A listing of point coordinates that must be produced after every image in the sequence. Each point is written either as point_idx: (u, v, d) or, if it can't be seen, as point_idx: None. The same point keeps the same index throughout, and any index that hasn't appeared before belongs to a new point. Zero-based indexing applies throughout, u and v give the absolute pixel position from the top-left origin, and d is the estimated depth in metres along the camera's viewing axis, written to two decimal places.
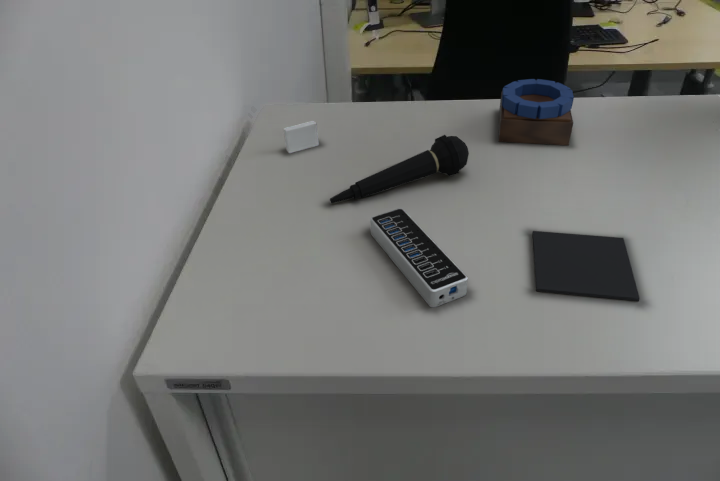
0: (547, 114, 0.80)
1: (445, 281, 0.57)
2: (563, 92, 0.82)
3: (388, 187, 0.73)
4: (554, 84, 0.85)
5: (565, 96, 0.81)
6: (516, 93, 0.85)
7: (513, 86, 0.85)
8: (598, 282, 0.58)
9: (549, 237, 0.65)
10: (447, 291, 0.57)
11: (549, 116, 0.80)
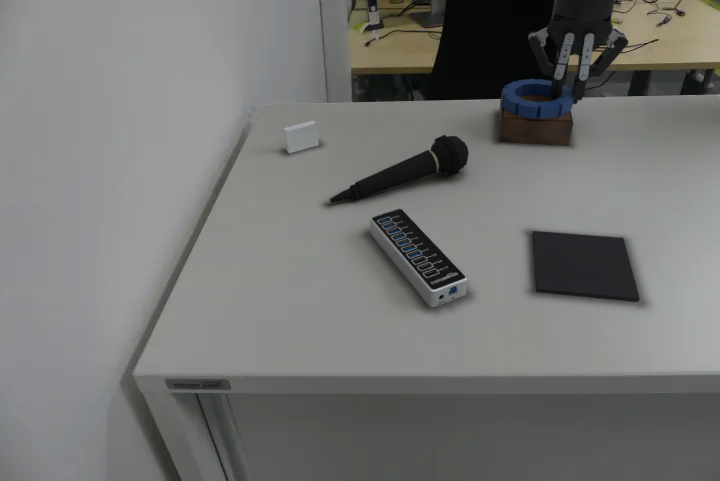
0: (547, 114, 0.80)
1: (445, 281, 0.57)
2: (563, 92, 0.82)
3: (388, 187, 0.73)
4: None
5: (565, 96, 0.81)
6: (516, 93, 0.85)
7: (513, 86, 0.85)
8: (598, 282, 0.58)
9: (549, 237, 0.65)
10: (447, 291, 0.57)
11: (549, 116, 0.80)
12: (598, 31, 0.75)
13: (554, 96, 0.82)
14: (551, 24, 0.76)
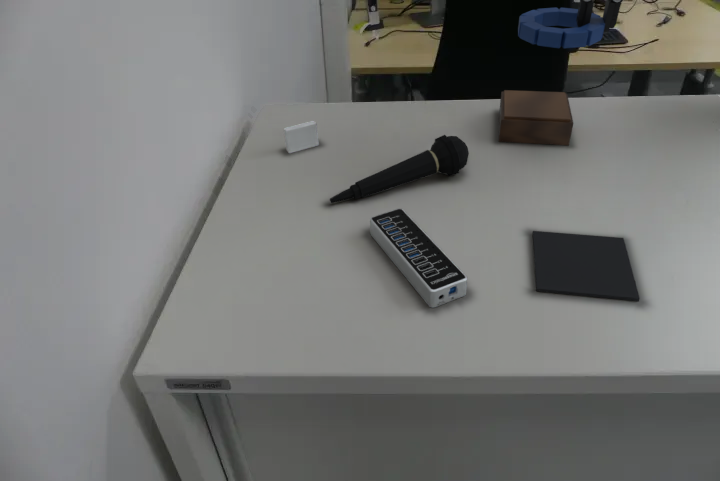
0: (573, 42, 0.66)
1: (445, 281, 0.57)
2: (592, 19, 0.69)
3: (388, 187, 0.73)
4: None
5: (594, 22, 0.68)
6: (535, 23, 0.72)
7: (532, 14, 0.72)
8: (598, 282, 0.58)
9: (549, 237, 0.65)
10: (447, 291, 0.57)
11: (576, 45, 0.67)
12: None
13: (581, 23, 0.69)
14: None
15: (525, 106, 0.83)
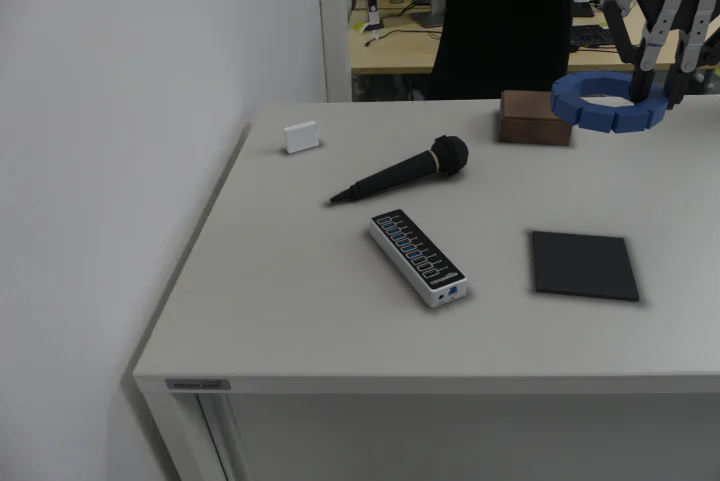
0: (629, 126, 0.50)
1: (445, 281, 0.57)
2: (650, 91, 0.52)
3: (388, 187, 0.73)
4: None
5: (654, 97, 0.51)
6: (573, 93, 0.55)
7: (568, 81, 0.55)
8: (598, 282, 0.58)
9: (549, 237, 0.65)
10: (447, 291, 0.57)
11: (631, 129, 0.50)
12: None
13: (636, 97, 0.52)
14: None
15: (525, 106, 0.83)
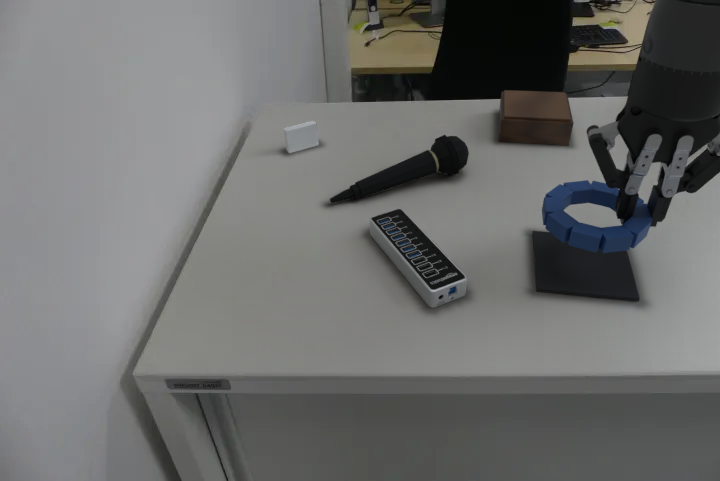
0: (614, 247, 0.53)
1: (444, 281, 0.57)
2: None
3: (388, 187, 0.73)
4: None
5: (638, 216, 0.55)
6: (563, 204, 0.59)
7: (559, 194, 0.59)
8: (598, 282, 0.58)
9: (549, 237, 0.65)
10: (446, 291, 0.57)
11: (617, 249, 0.54)
12: (699, 132, 0.49)
13: (622, 215, 0.56)
14: (626, 119, 0.50)
15: (525, 106, 0.83)
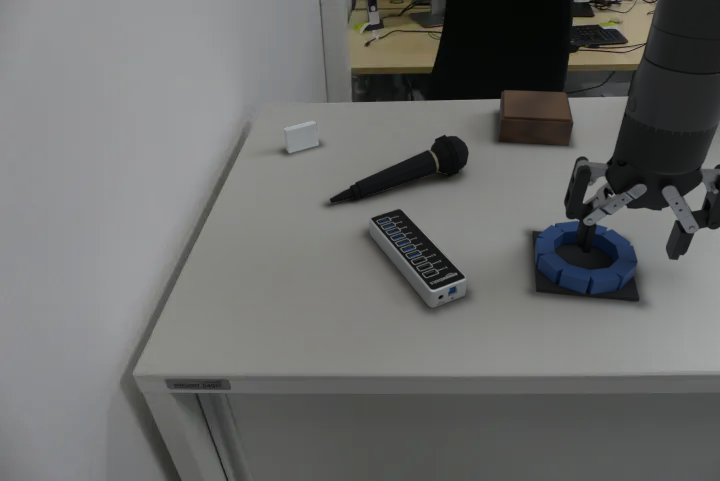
0: (602, 289, 0.57)
1: (444, 281, 0.57)
2: (621, 250, 0.59)
3: (388, 187, 0.73)
4: (607, 233, 0.62)
5: (625, 258, 0.58)
6: (554, 245, 0.62)
7: (551, 235, 0.62)
8: None
9: None
10: (446, 291, 0.57)
11: (604, 291, 0.57)
12: (682, 182, 0.52)
13: (582, 244, 0.59)
14: None
15: (525, 106, 0.83)
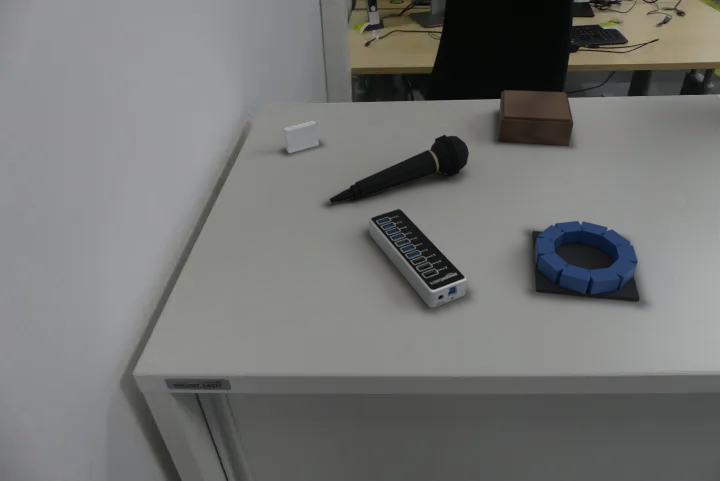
0: (602, 289, 0.57)
1: (444, 281, 0.57)
2: (621, 250, 0.59)
3: (388, 187, 0.73)
4: (607, 233, 0.62)
5: (625, 258, 0.58)
6: (554, 245, 0.62)
7: (551, 235, 0.62)
8: None
9: None
10: (446, 291, 0.57)
11: (604, 291, 0.57)
12: None
13: None
14: None
15: (525, 106, 0.83)
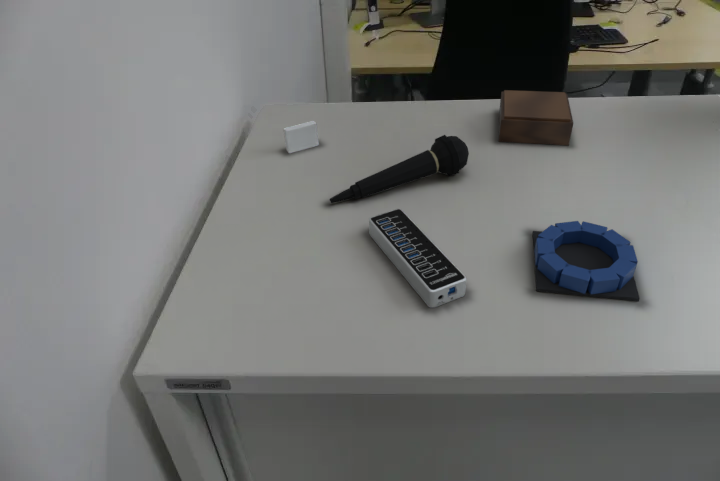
0: (602, 289, 0.57)
1: (444, 281, 0.57)
2: (621, 250, 0.59)
3: (388, 187, 0.73)
4: (607, 233, 0.62)
5: (625, 258, 0.58)
6: (554, 245, 0.62)
7: (551, 235, 0.62)
8: None
9: None
10: (446, 291, 0.57)
11: (604, 291, 0.57)
12: None
13: None
14: None
15: (525, 106, 0.83)
